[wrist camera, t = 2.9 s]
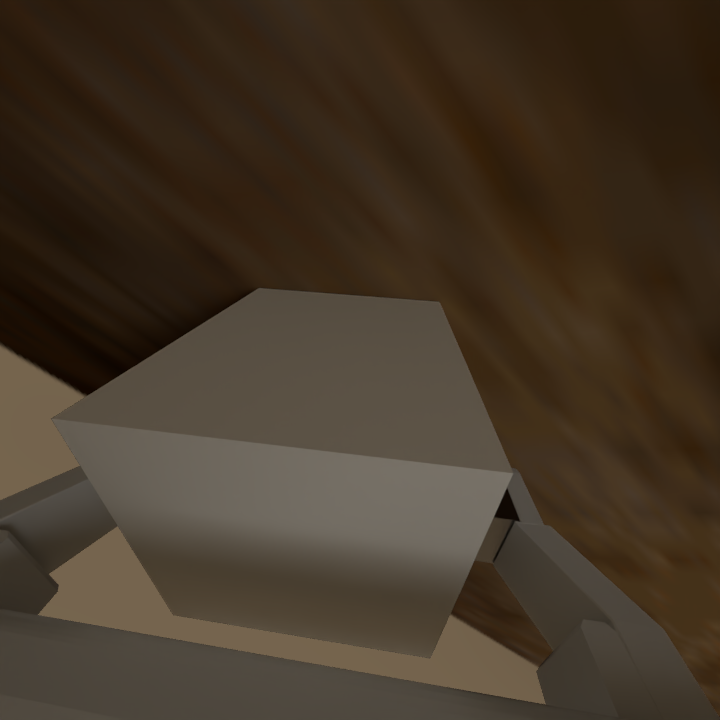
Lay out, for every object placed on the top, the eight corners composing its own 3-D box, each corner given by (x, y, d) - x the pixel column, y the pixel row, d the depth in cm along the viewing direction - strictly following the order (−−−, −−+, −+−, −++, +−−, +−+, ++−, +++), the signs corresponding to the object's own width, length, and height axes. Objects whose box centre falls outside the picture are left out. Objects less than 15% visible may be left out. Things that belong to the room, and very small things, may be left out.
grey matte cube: (259, 288, 11) (51, 418, 4) (439, 301, 11) (513, 473, 4) (276, 424, 15) (173, 614, 8) (414, 439, 14) (430, 658, 7)
